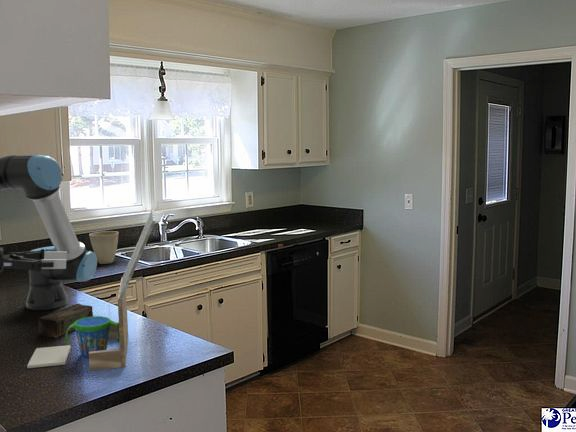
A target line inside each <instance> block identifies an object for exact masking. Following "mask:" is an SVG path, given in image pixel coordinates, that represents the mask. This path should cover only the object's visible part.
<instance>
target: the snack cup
mask: <svg viewBox="0 0 576 432" xmlns="http://www.w3.org/2000/svg"><path fill="white" fill-rule="evenodd" d="M115 322H116V321H113V320H111V319H110V318H109V317H108V316H101V315H96V316H94V315H93V317H86V318H82V319H79V320H77V321H75V322H74V323H73V324H72V325H70V326H69V328H68V329H67V331H66V334H64V335H65V338H64V339H65V344H66V345H70V341H69V332H68V330H69V329H70V328H74V329H75V333H76V334H75V335H76V339H77V343H78V346H79V352H80V354H81V356H84V357H85V358H89V352H91V351H102V350H108V341H109V339H108V334H109V329H110V325H114V326H115V327H116V329H117V330H118V338H116V339H117V342H120V338H119V336H120V335H119V327H118V325H117V324H116V323H115Z"/></svg>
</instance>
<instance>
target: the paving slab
mask: <svg viewBox="0 0 576 432" xmlns="http://www.w3.org/2000/svg"><path fill="white" fill-rule="evenodd" d="M71 348H72V346H71V344H69V345H67V344H66V345H58V346H57V345H56V346H47V347H37V348H35V350H34V352H33V354H32V356H31V358H30V359H29V361H28V364H27V366H26V367H27V369H33V368H34V369H35V368H44V367H52V366H53V367H55V366H63V365H66V362H67V359H68V357H69V354H70V351H71Z"/></svg>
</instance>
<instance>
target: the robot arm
mask: <svg viewBox="0 0 576 432" xmlns="http://www.w3.org/2000/svg"><path fill="white" fill-rule="evenodd" d="M62 175H63V173H62V169H61V167H60V164H59V162H58V161H57V160H56V159H54V158H53V157H52V156H49V155H42V154H34V155H11V154H10V155H6V156H2V157H0V191H4V190H22V191H23V193H24V195H25V198H26V199H28V200H30V201H32V202H33V203H34V206H35V208H36V210H37V212H38V215H39V217H40V218H41V222H42V223H43V225H44V227H45V230H46V232H47V235H48V237H49V238H50V241H51V244H52V245H51V246H45V247H44V246H43V247H39V248H35V249H31V250H28V251H13V252H12V251H10V252H8V254H5V252H4V247H1V246H0V274H2V272H3V271H4V270H7V269H10V270H11V269H13V270H14V269H15V270H23V271H24V270H25V271H26V270H27V271H28V278H29V290H28V294H27V298H26V301H25V303H26V305H25V306H26V307H25V308H26V309H27V310H31V311H48V310H54V309H58V308H62V307H65V306H66V305H67V304H69V303H68V302H69V301H68V296H67V293H66V290H65V288H64V286H63V282H64V281H66V282H77V283H79V282H87V281H90V280H91V279H92V278H93V277H94V275H95V272H96V270H97V265H98V260H97V257H96V255H95V253H94V251H91V250H89V251H88V250H87V248H86V246H85V244H84V243H83V242H81V241H79V240H78V238H77V235H76V233H75V231H74V228H73V225H72V222H71V221H70V219H69V216H68V213H67V212H66V209H65V207H64V204H63V201H62V200H61V198H60V195H59V190H60V187H61V186H60V185H61V184H62V180H63V177H62Z"/></svg>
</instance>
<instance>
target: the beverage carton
mask: <svg viewBox="0 0 576 432" xmlns="http://www.w3.org/2000/svg"><path fill="white" fill-rule="evenodd" d="M93 316H94V313H93V306H92V305H86V304H81V303H75V304H73V305H70V306H68V307H64V308H62V309H60V310H57V311H55V312H52V313H49V314H47V315H44V316H41V317H39V318H38V336H43V337H48V338H52V337H54V338H53V339H57V338H59V336H60V337H62V336H63V334H64V335H66V334H65V333H66V331H67V329H68V328H69V326H70V325H72V324H73V323H74V322H75V321H77V320H79V319H82V318H86V317H93ZM72 330H73V331H74V328H70V329H69V330H68V333H70V332H73V331H72ZM61 335H62V336H61Z"/></svg>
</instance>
